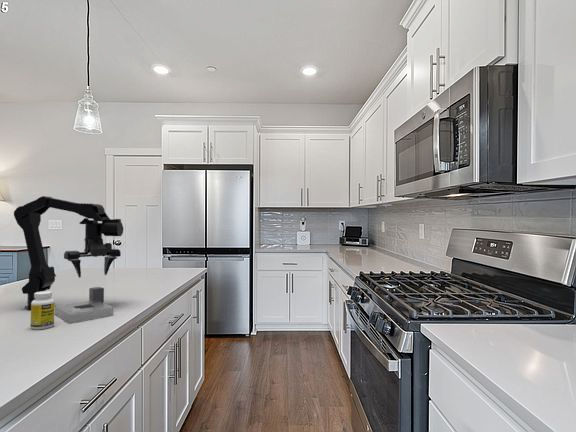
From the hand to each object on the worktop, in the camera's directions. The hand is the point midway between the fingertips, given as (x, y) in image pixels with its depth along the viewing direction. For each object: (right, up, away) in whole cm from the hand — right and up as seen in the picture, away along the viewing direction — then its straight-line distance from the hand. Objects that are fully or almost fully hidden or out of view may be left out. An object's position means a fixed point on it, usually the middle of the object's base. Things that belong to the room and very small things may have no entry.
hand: (92, 276), depth 138 cm
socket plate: (+3, -12, -10) cm, 16 cm away
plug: (0, -12, +3) cm, 13 cm away
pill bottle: (-2, -12, -25) cm, 28 cm away
